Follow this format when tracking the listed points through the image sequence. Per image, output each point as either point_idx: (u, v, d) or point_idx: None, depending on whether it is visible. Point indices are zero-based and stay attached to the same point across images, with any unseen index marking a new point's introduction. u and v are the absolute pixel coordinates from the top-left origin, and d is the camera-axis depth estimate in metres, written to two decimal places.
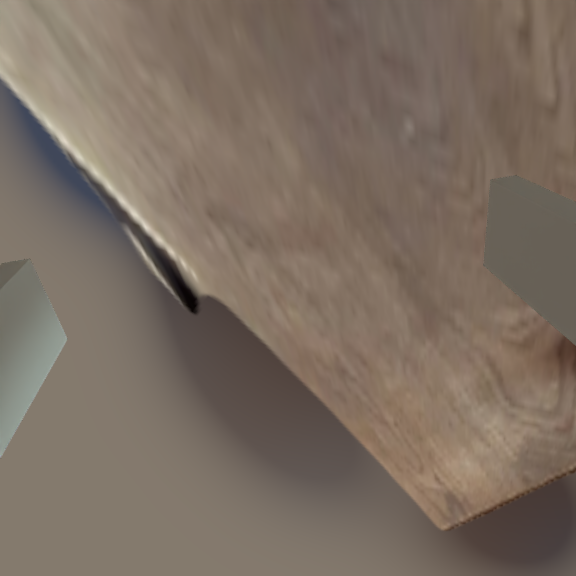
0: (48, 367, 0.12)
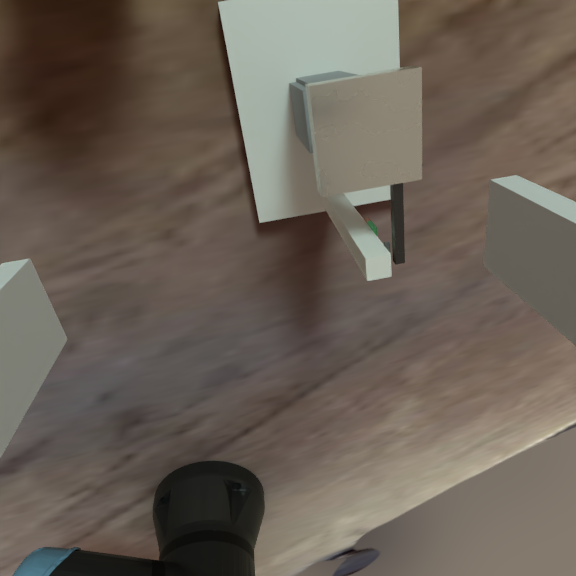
0: (48, 367, 0.12)
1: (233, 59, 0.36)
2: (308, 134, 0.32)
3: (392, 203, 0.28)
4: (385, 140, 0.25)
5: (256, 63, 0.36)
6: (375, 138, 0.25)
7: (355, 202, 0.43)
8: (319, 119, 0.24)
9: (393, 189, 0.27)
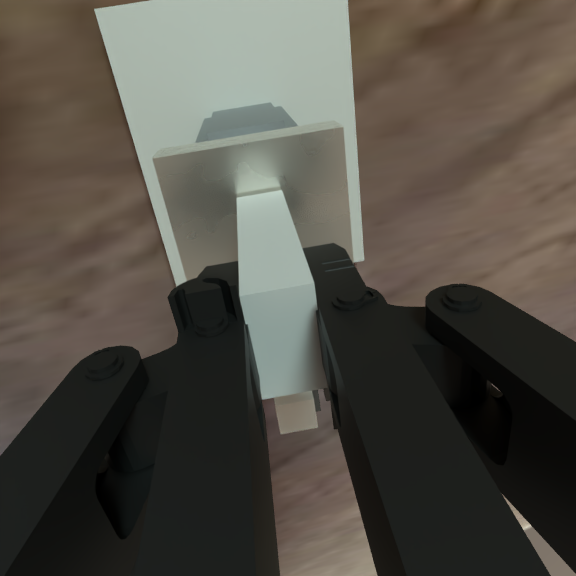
0: None
1: (124, 87, 0.26)
2: None
3: None
4: None
5: (156, 92, 0.27)
6: None
7: None
8: (177, 209, 0.15)
9: None
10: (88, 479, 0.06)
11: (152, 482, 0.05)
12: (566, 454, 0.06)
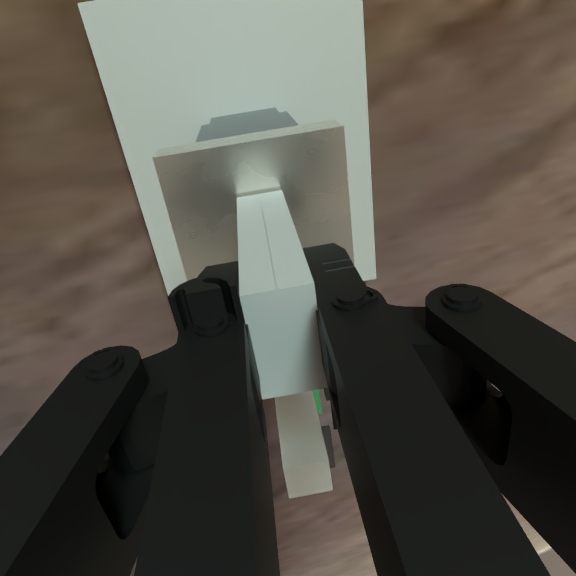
0: None
1: (112, 90, 0.24)
2: None
3: None
4: None
5: (148, 96, 0.24)
6: None
7: None
8: (178, 208, 0.15)
9: None
10: (88, 478, 0.06)
11: (151, 483, 0.05)
12: (566, 454, 0.06)
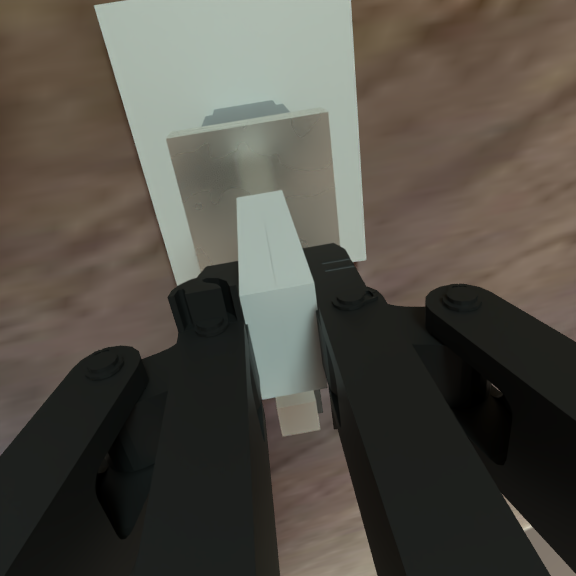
0: None
1: (124, 84, 0.26)
2: None
3: None
4: None
5: (157, 90, 0.26)
6: None
7: None
8: (186, 183, 0.17)
9: None
10: (88, 479, 0.06)
11: (152, 482, 0.05)
12: (566, 454, 0.06)
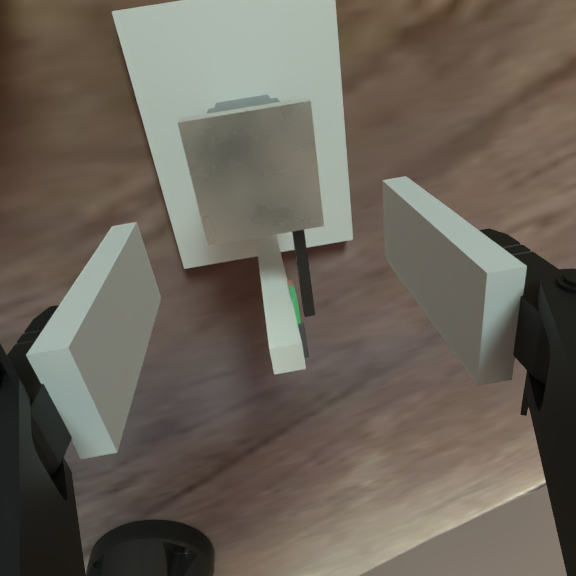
0: (153, 318, 0.14)
1: (137, 80, 0.30)
2: None
3: (295, 251, 0.24)
4: (276, 183, 0.22)
5: (166, 85, 0.30)
6: (263, 181, 0.21)
7: None
8: (194, 160, 0.21)
9: (293, 235, 0.23)
10: None
11: None
12: None
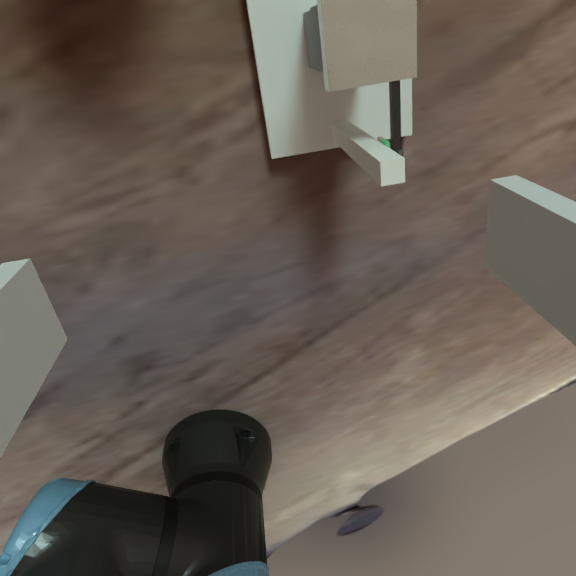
0: (48, 367, 0.12)
1: None
2: None
3: (391, 102, 0.31)
4: (384, 38, 0.29)
5: None
6: (376, 36, 0.29)
7: None
8: (328, 16, 0.28)
9: (391, 87, 0.31)
10: None
11: None
12: None
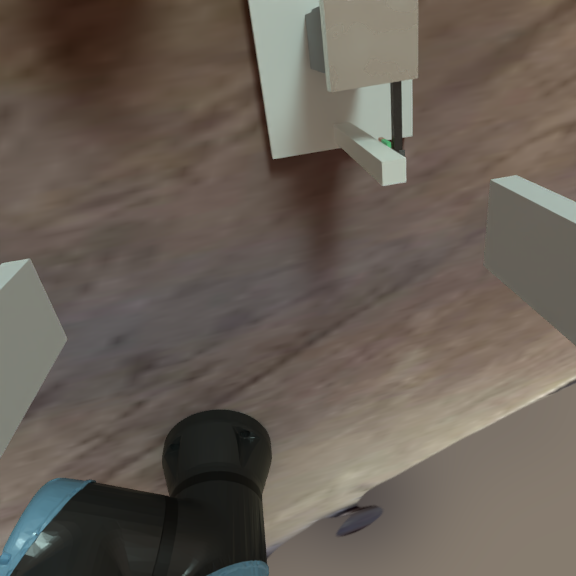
0: (48, 367, 0.12)
1: None
2: None
3: (392, 103, 0.32)
4: (386, 39, 0.29)
5: None
6: (378, 37, 0.29)
7: None
8: (330, 18, 0.28)
9: (392, 88, 0.31)
10: None
11: None
12: None
